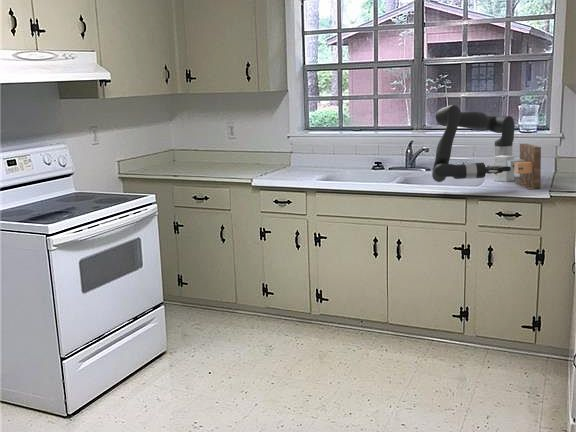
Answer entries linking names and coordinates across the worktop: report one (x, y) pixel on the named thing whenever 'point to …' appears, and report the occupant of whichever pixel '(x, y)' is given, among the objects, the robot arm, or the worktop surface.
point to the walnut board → (534, 156)
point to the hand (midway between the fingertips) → (510, 168)
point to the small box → (502, 162)
